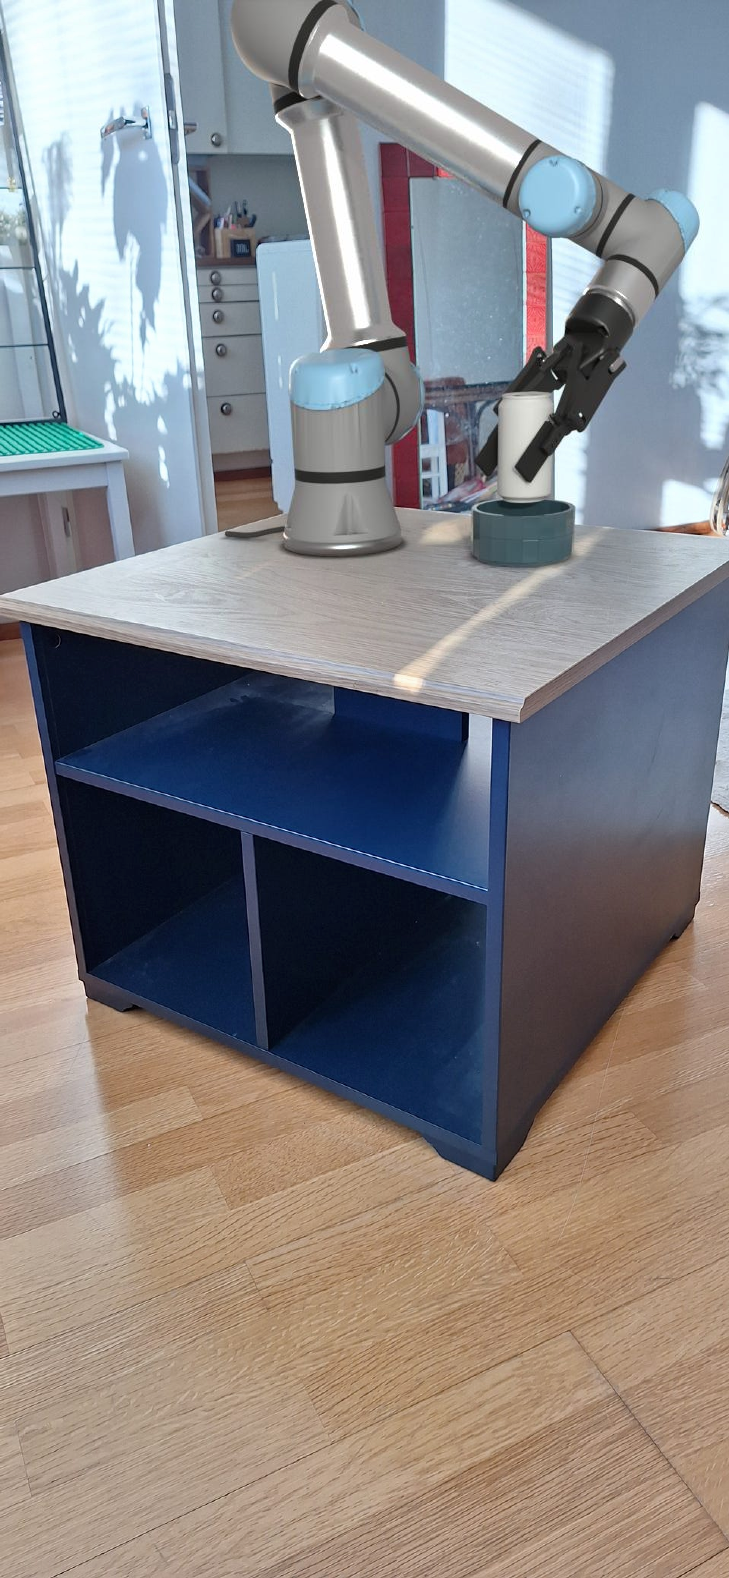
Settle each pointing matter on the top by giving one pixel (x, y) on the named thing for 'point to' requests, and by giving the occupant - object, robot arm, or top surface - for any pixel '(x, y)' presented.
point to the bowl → (522, 532)
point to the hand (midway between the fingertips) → (502, 471)
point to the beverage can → (522, 445)
